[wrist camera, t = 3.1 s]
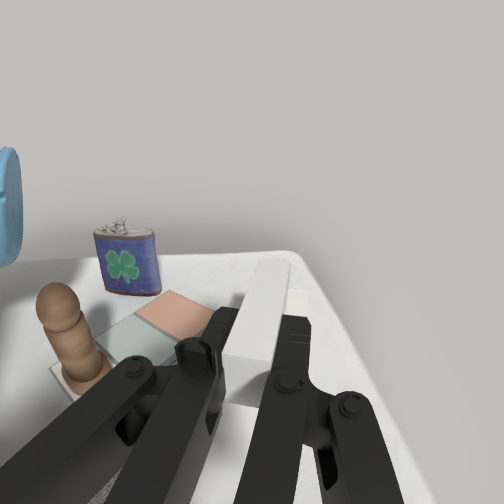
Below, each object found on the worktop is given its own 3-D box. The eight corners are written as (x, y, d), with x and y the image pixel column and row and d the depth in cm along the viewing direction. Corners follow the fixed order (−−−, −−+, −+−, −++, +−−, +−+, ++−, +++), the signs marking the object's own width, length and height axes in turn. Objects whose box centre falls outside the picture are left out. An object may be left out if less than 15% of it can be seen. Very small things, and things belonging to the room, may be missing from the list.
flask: (164, 287, 37) (154, 214, 33) (157, 299, 35) (145, 222, 30) (109, 281, 38) (95, 214, 33) (100, 292, 35) (84, 222, 30)
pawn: (58, 374, 20) (16, 288, 16) (94, 349, 24) (64, 263, 20) (84, 405, 18) (33, 316, 13) (123, 375, 22) (90, 284, 18)
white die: (236, 364, 26) (236, 319, 23) (249, 326, 31) (251, 282, 29) (297, 373, 25) (306, 329, 22) (301, 333, 30) (309, 290, 28)
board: (50, 372, 21) (47, 367, 21) (170, 293, 36) (169, 288, 36) (93, 426, 17) (89, 422, 17) (223, 319, 32) (223, 313, 32)
